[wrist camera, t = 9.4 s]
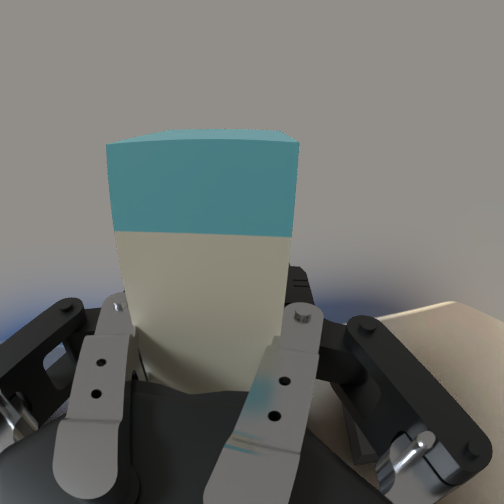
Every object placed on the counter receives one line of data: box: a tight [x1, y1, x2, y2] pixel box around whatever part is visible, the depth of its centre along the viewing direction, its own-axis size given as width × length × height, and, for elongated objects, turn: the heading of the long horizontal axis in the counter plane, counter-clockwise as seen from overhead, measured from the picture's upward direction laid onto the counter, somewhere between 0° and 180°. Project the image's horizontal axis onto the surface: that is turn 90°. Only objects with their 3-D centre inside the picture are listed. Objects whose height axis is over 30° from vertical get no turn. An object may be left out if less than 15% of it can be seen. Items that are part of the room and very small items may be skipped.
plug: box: [106, 129, 299, 394], centre depth 11 cm, size 4×5×14 cm
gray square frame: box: [342, 403, 379, 465], centre depth 22 cm, size 8×9×2 cm
